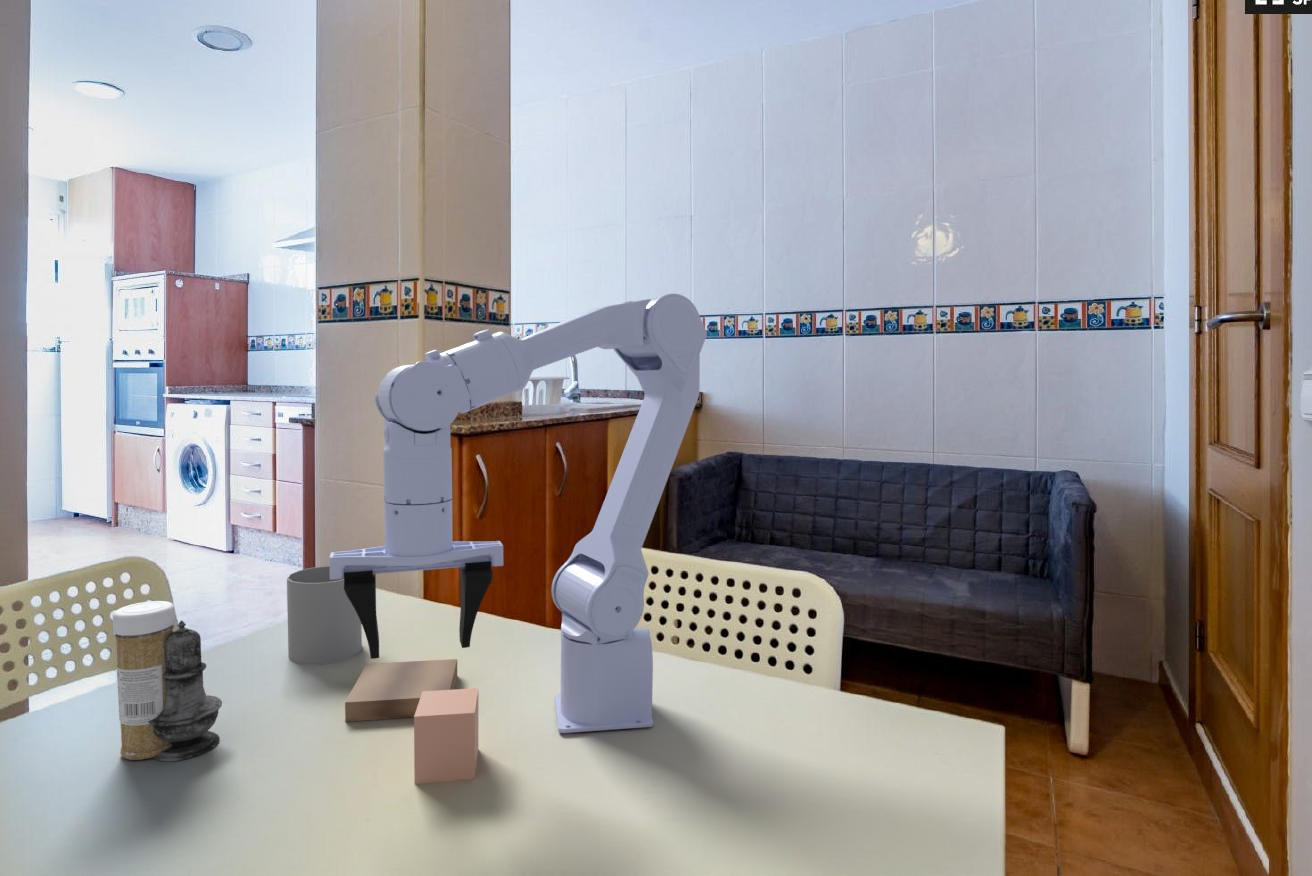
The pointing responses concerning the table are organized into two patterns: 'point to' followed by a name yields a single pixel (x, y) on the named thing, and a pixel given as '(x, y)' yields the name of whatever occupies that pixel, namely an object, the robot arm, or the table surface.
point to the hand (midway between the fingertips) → (420, 649)
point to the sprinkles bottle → (141, 674)
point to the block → (446, 736)
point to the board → (397, 688)
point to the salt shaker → (185, 700)
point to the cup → (320, 618)
